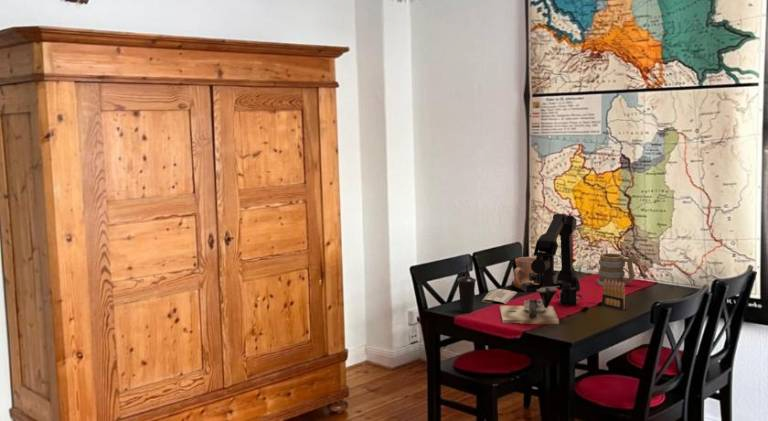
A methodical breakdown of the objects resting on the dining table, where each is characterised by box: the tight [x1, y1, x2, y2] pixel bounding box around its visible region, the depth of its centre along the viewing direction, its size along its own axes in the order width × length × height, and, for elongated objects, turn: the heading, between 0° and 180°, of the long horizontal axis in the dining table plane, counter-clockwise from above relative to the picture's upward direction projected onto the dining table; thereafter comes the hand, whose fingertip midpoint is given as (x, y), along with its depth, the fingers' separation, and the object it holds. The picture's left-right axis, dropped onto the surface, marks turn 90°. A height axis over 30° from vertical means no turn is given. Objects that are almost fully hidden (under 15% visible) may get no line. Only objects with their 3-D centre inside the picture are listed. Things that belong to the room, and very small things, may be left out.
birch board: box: [499, 305, 560, 325], centre depth 325 cm, size 22×22×2 cm
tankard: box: [596, 252, 640, 288], centre depth 376 cm, size 20×13×15 cm, turn 43°
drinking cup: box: [457, 263, 477, 313], centre depth 333 cm, size 8×8×20 cm
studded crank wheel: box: [523, 298, 546, 318], centre depth 323 cm, size 17×9×7 cm, turn 165°
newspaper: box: [481, 288, 518, 305], centre depth 357 cm, size 23×12×2 cm, turn 157°
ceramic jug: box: [512, 256, 544, 290], centre depth 371 cm, size 18×14×14 cm
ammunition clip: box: [601, 278, 627, 311], centre depth 336 cm, size 11×2×12 cm, turn 40°
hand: (545, 307), depth 317 cm, fingers closed
